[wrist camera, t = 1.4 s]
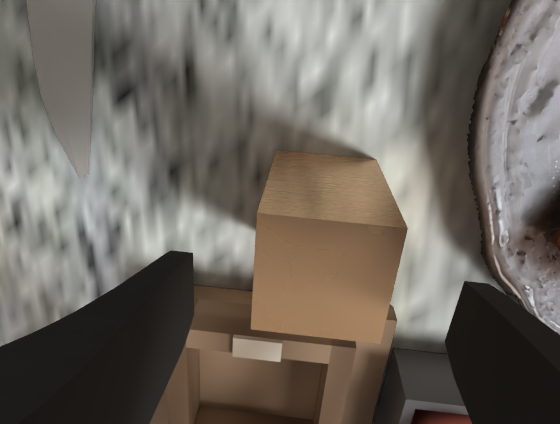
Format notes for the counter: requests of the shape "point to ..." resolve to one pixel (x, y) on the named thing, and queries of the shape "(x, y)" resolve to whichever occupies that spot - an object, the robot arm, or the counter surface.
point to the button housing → (418, 387)
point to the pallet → (268, 371)
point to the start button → (438, 417)
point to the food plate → (521, 157)
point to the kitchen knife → (66, 70)
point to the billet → (326, 248)
